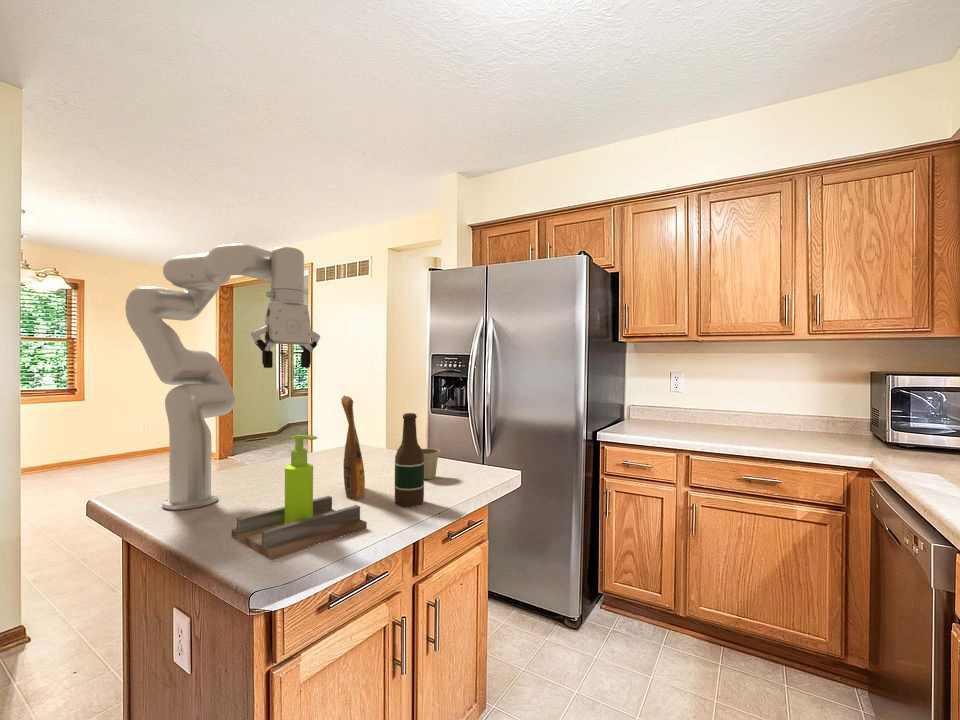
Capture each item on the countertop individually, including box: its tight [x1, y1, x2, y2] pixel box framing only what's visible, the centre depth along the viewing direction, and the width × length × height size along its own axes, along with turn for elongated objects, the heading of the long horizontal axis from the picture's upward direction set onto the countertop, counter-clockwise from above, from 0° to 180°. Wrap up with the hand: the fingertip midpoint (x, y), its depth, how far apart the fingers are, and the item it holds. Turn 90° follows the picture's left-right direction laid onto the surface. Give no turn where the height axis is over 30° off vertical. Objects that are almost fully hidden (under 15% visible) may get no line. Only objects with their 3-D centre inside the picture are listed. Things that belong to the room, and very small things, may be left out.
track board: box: [231, 495, 368, 560], centre depth 104 cm, size 18×22×4 cm
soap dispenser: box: [284, 434, 318, 525], centre depth 105 cm, size 6×7×20 cm
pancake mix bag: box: [340, 394, 366, 501], centre depth 136 cm, size 7×19×28 cm, turn 16°
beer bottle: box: [394, 412, 425, 508], centre depth 126 cm, size 8×8×24 cm
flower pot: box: [421, 448, 441, 481], centre depth 154 cm, size 9×9×9 cm
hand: (287, 367), depth 116 cm, fingers open, 9 cm apart
